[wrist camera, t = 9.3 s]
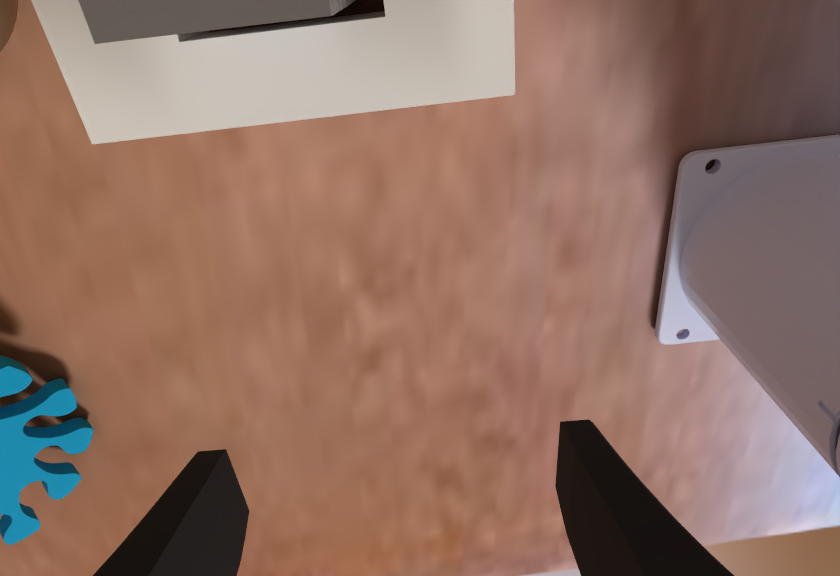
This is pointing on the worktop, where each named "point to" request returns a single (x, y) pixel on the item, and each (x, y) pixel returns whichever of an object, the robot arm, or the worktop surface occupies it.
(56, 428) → the gear
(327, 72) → the socket block
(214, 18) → the square peg
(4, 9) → the round peg
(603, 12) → the worktop surface
